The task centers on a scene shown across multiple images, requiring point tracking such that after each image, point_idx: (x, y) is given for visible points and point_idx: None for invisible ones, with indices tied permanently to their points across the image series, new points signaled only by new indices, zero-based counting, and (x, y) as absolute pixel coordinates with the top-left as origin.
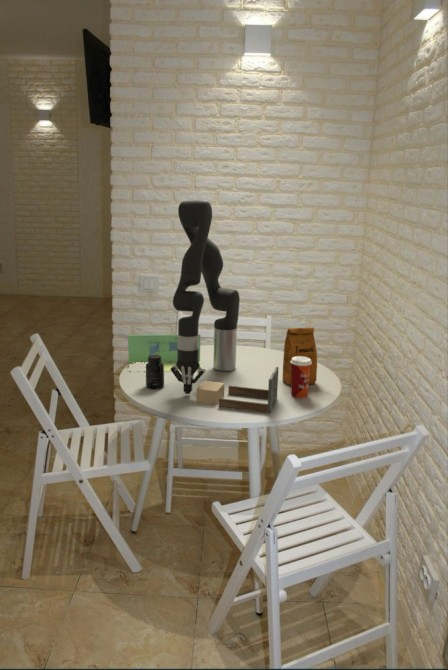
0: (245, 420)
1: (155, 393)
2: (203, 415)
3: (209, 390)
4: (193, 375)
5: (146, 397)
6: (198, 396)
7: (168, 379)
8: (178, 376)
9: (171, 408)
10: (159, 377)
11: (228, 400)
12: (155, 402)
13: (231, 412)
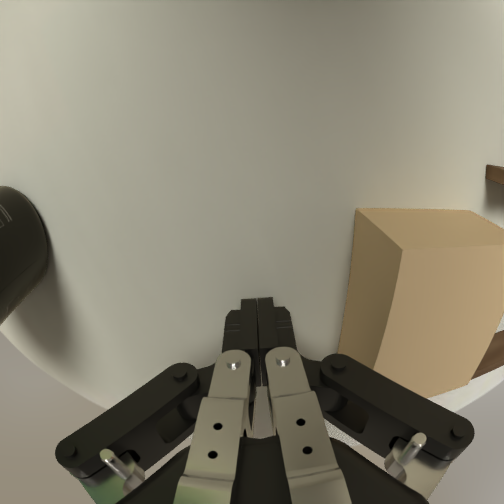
0: (491, 385)
1: (75, 325)
2: None
3: (433, 395)
4: (315, 394)
5: (85, 373)
6: None
7: (11, 79)
8: (177, 440)
9: None
10: (5, 311)
11: (488, 370)
12: None
13: None
